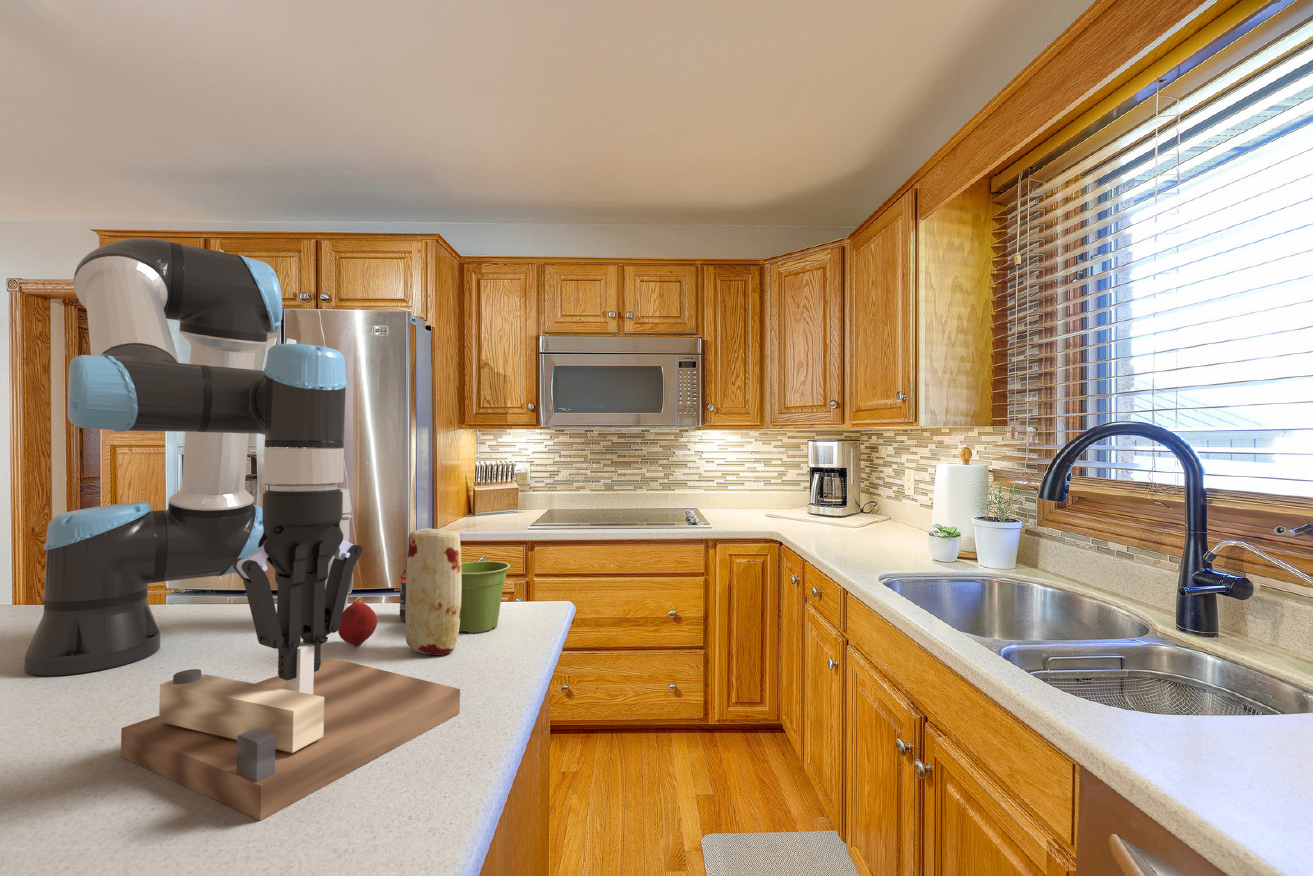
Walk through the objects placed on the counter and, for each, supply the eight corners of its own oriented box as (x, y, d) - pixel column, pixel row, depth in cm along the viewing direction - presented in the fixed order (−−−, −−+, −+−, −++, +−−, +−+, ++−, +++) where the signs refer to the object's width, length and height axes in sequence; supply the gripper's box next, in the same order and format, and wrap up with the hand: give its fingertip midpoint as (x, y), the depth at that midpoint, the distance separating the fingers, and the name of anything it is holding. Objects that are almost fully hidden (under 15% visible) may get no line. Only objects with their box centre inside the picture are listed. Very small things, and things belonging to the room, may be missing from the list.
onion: (359, 653, 95) (361, 603, 95) (328, 651, 96) (329, 601, 96) (383, 642, 100) (384, 594, 101) (353, 639, 102) (354, 592, 102)
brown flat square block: (120, 756, 63) (122, 694, 63) (331, 678, 84) (332, 632, 84) (260, 820, 52) (262, 746, 52) (459, 713, 74) (460, 660, 74)
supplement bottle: (439, 617, 116) (440, 558, 116) (415, 625, 110) (416, 564, 111) (417, 613, 118) (418, 556, 118) (392, 621, 113) (393, 561, 113)
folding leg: (159, 721, 63) (160, 677, 64) (193, 708, 67) (194, 666, 67) (292, 752, 57) (293, 703, 57) (323, 736, 61) (324, 690, 61)
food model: (393, 655, 94) (396, 528, 95) (421, 642, 101) (423, 524, 101) (447, 662, 92) (449, 531, 92) (471, 648, 98) (474, 526, 98)
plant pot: (484, 615, 117) (485, 558, 118) (522, 627, 110) (523, 566, 110) (428, 628, 108) (430, 566, 109) (466, 642, 101) (467, 576, 101)
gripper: (340, 483, 72) (335, 678, 72) (219, 489, 61) (212, 721, 61) (379, 486, 69) (375, 691, 68) (258, 492, 57) (252, 739, 57)
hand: (298, 705), depth 64 cm, fingers closed
